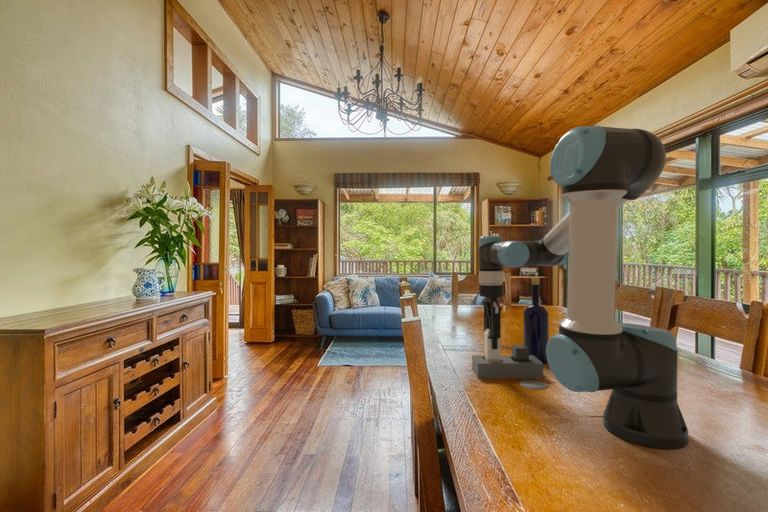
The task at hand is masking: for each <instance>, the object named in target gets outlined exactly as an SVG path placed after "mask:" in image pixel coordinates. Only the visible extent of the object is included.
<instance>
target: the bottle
mask: <svg viewBox="0 0 768 512" xmlns="http://www.w3.org/2000/svg"><path fill="white" fill-rule="evenodd" d="M530 287H531V304H530V305H527V306H526V307H525V308H524V309H523V345H525V346H526V347H528V348H529V355H533V356H534V357H536V358H537V359H538V360H540V361H541V362H542V363H543V365H547V364H548V360H547V355H546V346H547V343H548V341H549V340H550V338H549V311H548V309H547V308H546V307H545V306H544V305H541V304H540V288H541V284H540V277H531V284H530ZM548 365H549V364H548Z"/></svg>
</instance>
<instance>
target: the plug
mask: <svg viewBox="0 0 768 512" xmlns="http://www.w3.org/2000/svg"><path fill="white" fill-rule="evenodd" d="M483 332H484V333H483V334H484V342H483V343H484V355H485V362H500V355H501V337H500V338H499V339H498V347H499V359H489V339H488V337H490V329H486V331H484V330H483Z"/></svg>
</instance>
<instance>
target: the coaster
mask: <svg viewBox="0 0 768 512" xmlns="http://www.w3.org/2000/svg"><path fill="white" fill-rule="evenodd" d="M518 385H519V386H521V387H523V388H524V389H528V390H533V391H544V390H547V389H549V384H547V383H545V382H543V381H539V380H535V379H524V380H523V379H522V380H521V381H519V382H518Z"/></svg>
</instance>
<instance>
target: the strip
mask: <svg viewBox="0 0 768 512" xmlns="http://www.w3.org/2000/svg"><path fill="white" fill-rule="evenodd" d="M471 365H472V366H471V371H473V373H474V375H475V376H476V378H477V379H544V364H543V363H542V362H541V361H540V360H538V359H537V358H536V357H534V356H533V355H529V348H528V347H526V346H525V345H524V344H523V345H522V344H514V345H513V344H512V345H511V355H510V354H507V355H505V354H503V355H502V354H500V362H485V354H483V355H477V354H476V355H475V354H474V355H471Z"/></svg>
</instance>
